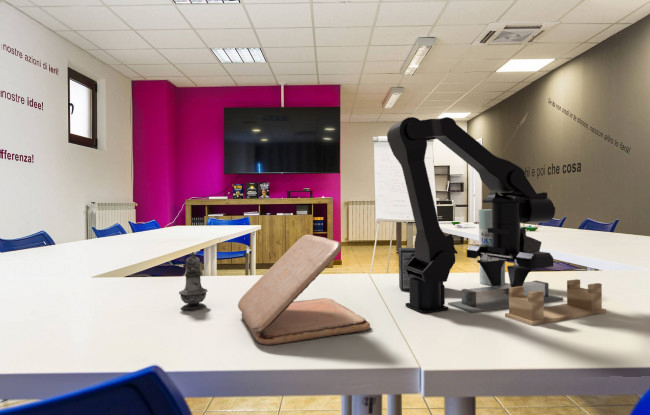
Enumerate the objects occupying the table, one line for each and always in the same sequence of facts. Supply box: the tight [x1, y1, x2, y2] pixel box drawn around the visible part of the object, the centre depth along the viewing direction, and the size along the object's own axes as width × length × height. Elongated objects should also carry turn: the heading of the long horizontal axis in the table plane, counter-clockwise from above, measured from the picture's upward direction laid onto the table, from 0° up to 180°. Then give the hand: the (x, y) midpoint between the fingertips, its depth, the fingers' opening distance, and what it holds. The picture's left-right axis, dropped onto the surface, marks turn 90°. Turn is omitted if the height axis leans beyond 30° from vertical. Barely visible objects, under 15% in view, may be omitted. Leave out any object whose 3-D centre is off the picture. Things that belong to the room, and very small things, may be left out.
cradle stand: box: [504, 278, 607, 326], centre depth 75 cm, size 20×6×6 cm, turn 112°
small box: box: [398, 247, 415, 292], centre depth 99 cm, size 11×6×10 cm, turn 84°
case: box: [237, 234, 371, 346], centre depth 73 cm, size 20×21×16 cm
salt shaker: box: [178, 252, 209, 312], centre depth 84 cm, size 6×6×12 cm
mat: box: [447, 294, 564, 314], centre depth 85 cm, size 26×7×1 cm, turn 112°
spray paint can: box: [478, 208, 506, 287], centre depth 104 cm, size 6×6×20 cm
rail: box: [461, 280, 550, 307], centre depth 85 cm, size 22×3×3 cm, turn 112°
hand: (506, 294), depth 85 cm, fingers open, 5 cm apart
